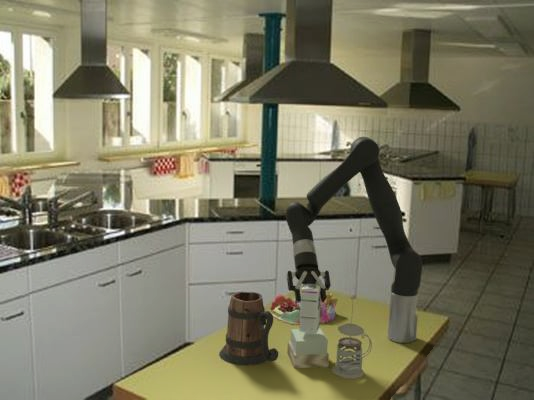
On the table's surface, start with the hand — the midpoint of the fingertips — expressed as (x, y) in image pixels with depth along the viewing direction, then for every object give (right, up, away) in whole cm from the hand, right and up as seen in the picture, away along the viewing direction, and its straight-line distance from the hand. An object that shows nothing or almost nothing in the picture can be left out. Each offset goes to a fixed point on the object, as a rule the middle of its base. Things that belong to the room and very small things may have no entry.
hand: (311, 301), depth 184 cm
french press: (+12, -22, -2) cm, 25 cm away
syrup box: (-1, -10, +3) cm, 10 cm away
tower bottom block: (-1, -20, +5) cm, 21 cm away
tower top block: (-1, -16, +4) cm, 16 cm away
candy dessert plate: (+1, -14, +46) cm, 48 cm away
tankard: (-19, -19, +5) cm, 28 cm away
